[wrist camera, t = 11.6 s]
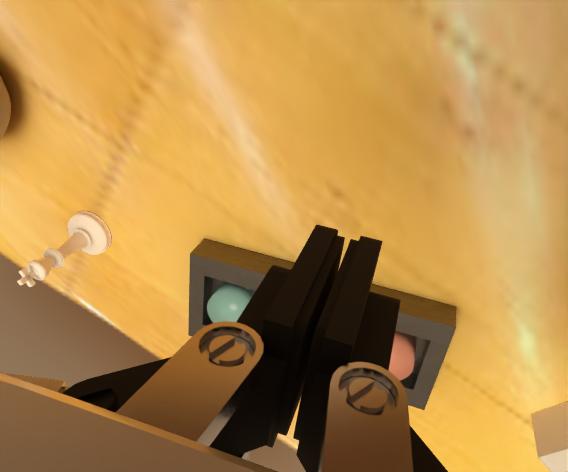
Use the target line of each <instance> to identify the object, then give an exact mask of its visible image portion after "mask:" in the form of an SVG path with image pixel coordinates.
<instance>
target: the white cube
mask: <svg viewBox="0 0 568 472" xmlns="http://www.w3.org/2000/svg"><path fill="white" fill-rule="evenodd" d="M531 417H532V423H533V429H534V435H535V441H536V447H537V453H538V458H539V459H540V460H541V461H542V462H543V463H544V465H545V466H546V467H547V468H548V469H549V470H550V471H551V472H568V401H567V402H564V403H561V404H558V405H555V406H552V407H549V408H546V409H544V410H541V411H538V412H535V413H532V414H531Z"/></svg>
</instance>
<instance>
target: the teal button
mask: <svg viewBox="0 0 568 472" xmlns="http://www.w3.org/2000/svg"><path fill="white" fill-rule="evenodd" d="M255 291H256V290H253V289H249V288H246V287H242V286H239V285H235V284H232V283H229V282H225V281H224V282H223V283H222V284H221V285H220V286H219V287H218V289H217V290H216V291H215V293H214V294H213V295H212V297H211V298H210V299H209V301H208V304H207V312H208V315H209V317H210V319H211V320H212V322H213V323H216V322H223V321H228V322H237V320H238V318H239V317H240V315H241V314H242V312H243V310H244V309H245V307H246V306H247V304H248V303H249V301H250V299H251V298H252V296H253V295H254V293H255Z"/></svg>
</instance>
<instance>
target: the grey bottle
mask: <svg viewBox="0 0 568 472" xmlns="http://www.w3.org/2000/svg"><path fill="white" fill-rule="evenodd" d="M10 116H11V102H10V97H9V94H8V91H7V89H6V86H5V84H4V82H3V80H2V78H1V76H0V139H1V138H2V136H3V135H4V133H5V131H6V129H7V127H8V124H9V121H10Z"/></svg>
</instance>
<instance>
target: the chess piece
mask: <svg viewBox="0 0 568 472" xmlns="http://www.w3.org/2000/svg"><path fill="white" fill-rule="evenodd" d="M68 233H69V236H70V238H69V239H68V240H67V241H66V242H65V243H64V244H63V245H62V246H61V247H60V248H59V249H58V250H56V249H53V248H49V249H47V250H46V252H45V253H44V257H45V258H41V259H38V260H34V261H31V262H29V263H28V265H27V269H28V272H29V273H28V272H27V270H26V269H25V268H24V269H22V270H20V271H19V273H20V274H21V276H22V278H21V279H20V280H18V281H17V282H18V283H19V285H23V284H24V283H27V285H28V286H29V287H32V286H33V285H35V282H34V280H33V279H32V278H35V279H37V280H44V279H45V278H46V277H47V276H48V274H49V272H50V270H51V269H52V268H53V267H54V268H60V267H63V265H64V263H65V261H64V258H65V257H67V256H68V255H70V254H72V253H74V252H76V251H78V250H82V251H83V252H85V253H88V254H91V255H98V254H101V253H103V252H105V251H106V250H107V249H108V248H109V247H110V245H111V234H110V231H109V229H108V227H107V225H106V224H105V222H104V221H103V220H102V219H101V218H100V217H98V216H97V215H95V214H93V213H91V212H87V211H80V212H77V213H76V214H74V215H73V216H72V217H71V218H70V220H69V222H68Z"/></svg>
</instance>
